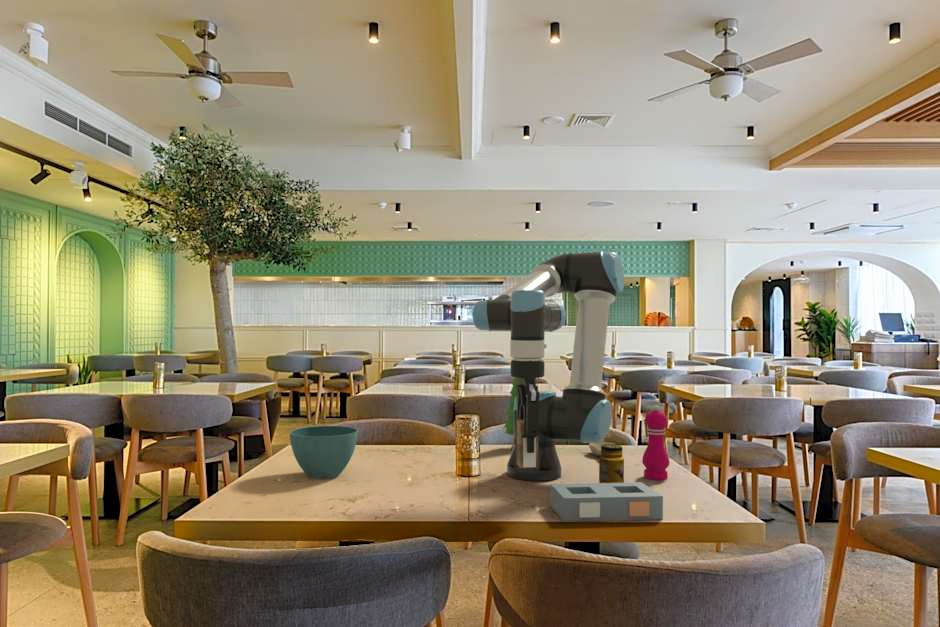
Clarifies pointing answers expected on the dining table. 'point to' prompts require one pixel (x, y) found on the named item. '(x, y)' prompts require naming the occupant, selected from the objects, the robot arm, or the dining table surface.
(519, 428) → the plug
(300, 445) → the plant pot
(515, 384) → the decorative tree
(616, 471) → the condiment
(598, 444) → the oil lamp
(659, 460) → the pepper mill
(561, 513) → the socket block
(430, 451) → the dining table surface
